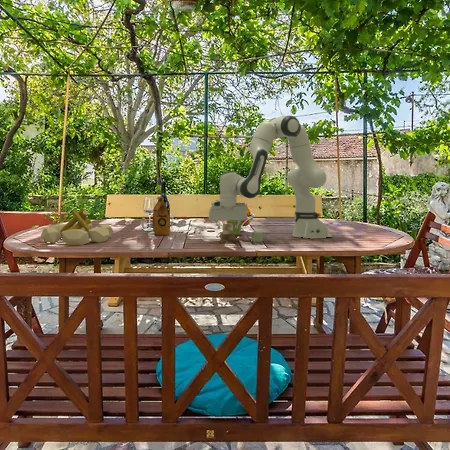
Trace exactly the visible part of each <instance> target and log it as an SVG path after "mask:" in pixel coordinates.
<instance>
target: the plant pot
mask: <svg viewBox="0 0 450 450" xmlns="http://www.w3.org/2000/svg"><path fill="white" fill-rule="evenodd" d="M226 222H227V224H233V233H234V234H235V236H240V235H241V231H242V224H243V222H244V220H240V224H239V225H238V229H235V225H237V224H238V222H237V220H226Z"/></svg>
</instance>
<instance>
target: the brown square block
mask: <svg viewBox="0 0 450 450" xmlns="http://www.w3.org/2000/svg"><path fill="white" fill-rule="evenodd" d="M220 242H221V243H235V242H236V235H235V234H234V233H233V234H223V232H220Z"/></svg>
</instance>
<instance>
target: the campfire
mask: <svg viewBox="0 0 450 450" xmlns="http://www.w3.org/2000/svg"><path fill="white" fill-rule="evenodd" d="M71 214H72V216H73V217H72V218H71V219H70V220H69V221H68V222H67V223H66V224H54V225H50V227H45V228H43V229H42V232H41V234H40V237H41V239H42V240H43V242H44V243H45V242H50V243H54V244H56V243H55V242H58V243H59V241H60V240H61V239H60V238H63V239H62V240H63V242H64V243H65V244H66V245H67V246H83V245H86V244H89V243H90V240H91V243H95V244H96V243H97V244H101V243H104V242H107V241H108V239H110V238H111V237H112V234H113V233H114V230H113V228H112V226H111V225H110V224H108V223H105V224H104V223H103V224H98V225H97V226H96V227H93V224H92V220H91V219H90V218H87V217H88V216H89V213H88V211H87V210H86V209H85V208H83V207H82V208H80V210H79V211H77V210H76V209H74V210H71ZM59 239H60V240H59Z"/></svg>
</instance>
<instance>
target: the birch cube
mask: <svg viewBox="0 0 450 450" xmlns="http://www.w3.org/2000/svg"><path fill="white" fill-rule="evenodd" d="M222 233H223V234H233V224H228V223H222Z"/></svg>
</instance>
